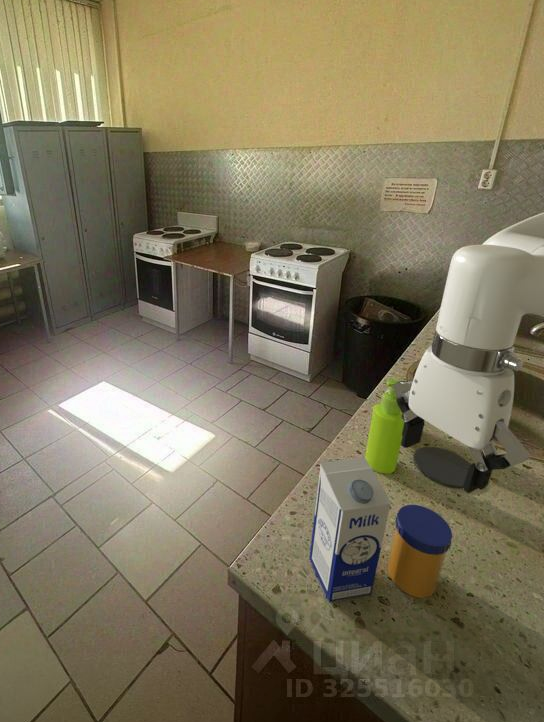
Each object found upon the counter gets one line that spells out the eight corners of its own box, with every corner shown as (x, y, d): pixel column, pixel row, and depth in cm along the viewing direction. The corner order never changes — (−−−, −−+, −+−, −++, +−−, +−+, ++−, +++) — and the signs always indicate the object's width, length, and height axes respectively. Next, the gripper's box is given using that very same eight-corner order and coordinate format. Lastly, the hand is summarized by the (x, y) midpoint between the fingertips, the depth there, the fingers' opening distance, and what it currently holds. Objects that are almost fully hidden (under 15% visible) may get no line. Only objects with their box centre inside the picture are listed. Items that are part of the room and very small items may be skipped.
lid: (435, 514, 61) (438, 505, 60) (460, 557, 54) (463, 548, 54) (388, 510, 61) (389, 502, 61) (406, 553, 55) (408, 544, 54)
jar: (423, 557, 64) (436, 509, 60) (444, 600, 58) (459, 549, 54) (381, 553, 65) (391, 506, 61) (396, 595, 58) (409, 545, 55)
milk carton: (348, 551, 65) (365, 455, 58) (372, 593, 59) (394, 491, 52) (308, 558, 64) (319, 461, 57) (328, 601, 58) (343, 499, 51)
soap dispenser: (403, 477, 79) (421, 393, 72) (366, 470, 81) (380, 387, 74) (398, 457, 84) (415, 376, 77) (363, 450, 87) (377, 371, 79)
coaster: (457, 450, 86) (458, 447, 86) (488, 490, 76) (489, 487, 76) (404, 447, 87) (405, 445, 87) (427, 486, 77) (428, 484, 77)
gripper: (578, 377, 41) (530, 503, 47) (423, 318, 56) (402, 420, 62) (535, 395, 38) (490, 526, 44) (385, 328, 53) (367, 434, 59)
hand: (439, 464), depth 53 cm, fingers open, 8 cm apart
